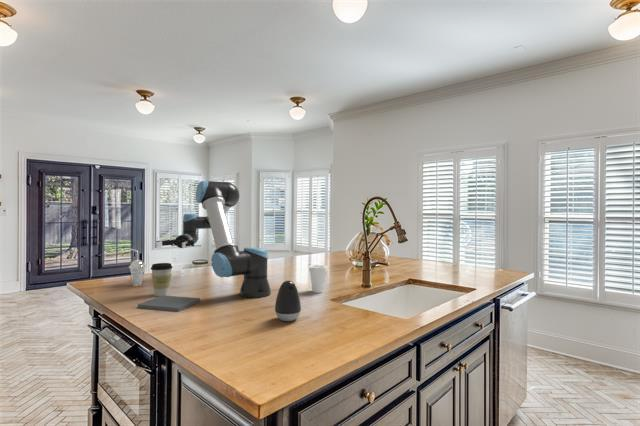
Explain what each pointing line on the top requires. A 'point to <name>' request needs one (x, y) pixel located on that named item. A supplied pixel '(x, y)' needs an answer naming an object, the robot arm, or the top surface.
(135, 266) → the cup with straw
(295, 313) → the black egg shaped speaker
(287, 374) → the top surface
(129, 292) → the top surface
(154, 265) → the coffee cup
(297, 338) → the top surface
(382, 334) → the top surface
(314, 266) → the foam cup
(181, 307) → the mat
